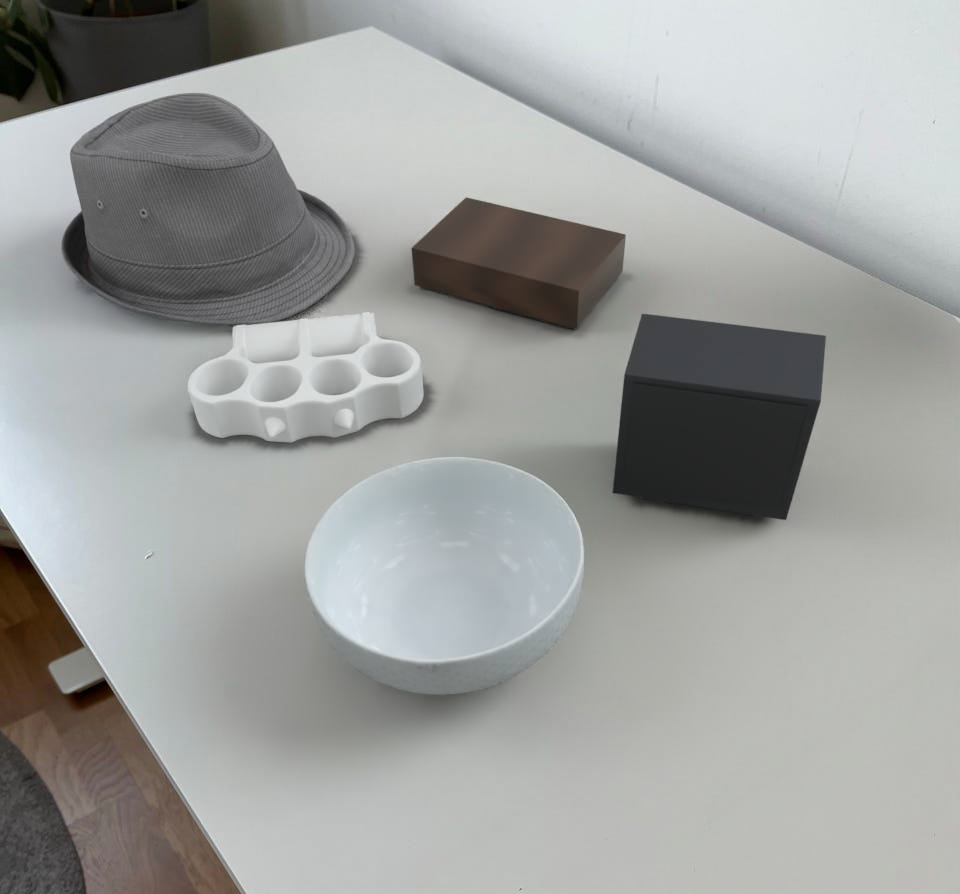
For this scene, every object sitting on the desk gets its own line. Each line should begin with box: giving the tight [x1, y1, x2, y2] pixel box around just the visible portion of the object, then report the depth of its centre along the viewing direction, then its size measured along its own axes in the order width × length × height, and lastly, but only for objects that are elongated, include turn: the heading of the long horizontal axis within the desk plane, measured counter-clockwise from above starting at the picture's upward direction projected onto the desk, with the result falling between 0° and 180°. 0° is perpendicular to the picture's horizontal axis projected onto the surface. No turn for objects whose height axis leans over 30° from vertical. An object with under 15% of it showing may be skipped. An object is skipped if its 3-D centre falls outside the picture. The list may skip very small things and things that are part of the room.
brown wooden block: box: [411, 196, 627, 330], centre depth 87 cm, size 16×10×4 cm, turn 62°
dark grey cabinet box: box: [612, 313, 827, 521], centre depth 67 cm, size 7×12×11 cm, turn 75°
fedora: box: [60, 92, 356, 327], centre depth 88 cm, size 24×27×12 cm
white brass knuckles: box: [187, 311, 425, 444], centre depth 78 cm, size 3×18×15 cm
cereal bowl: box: [303, 456, 585, 696], centre depth 61 cm, size 17×17×7 cm
